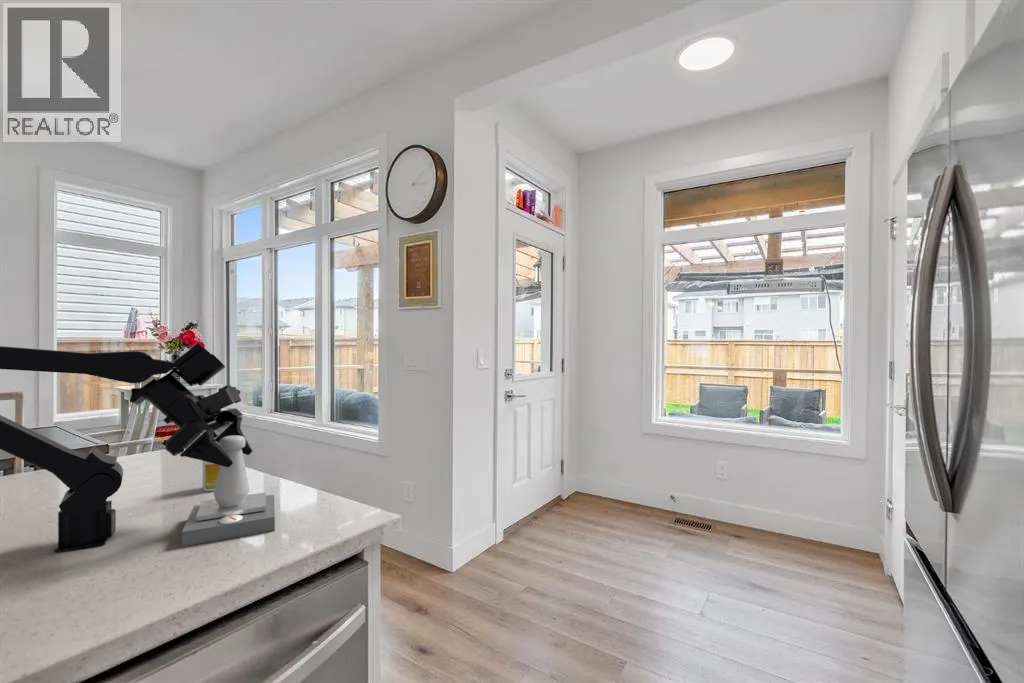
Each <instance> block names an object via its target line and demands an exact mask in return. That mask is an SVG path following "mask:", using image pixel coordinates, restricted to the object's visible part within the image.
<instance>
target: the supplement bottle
mask: <svg viewBox="0 0 1024 683" xmlns="http://www.w3.org/2000/svg"><path fill="white" fill-rule="evenodd" d="M219 469H220V465H217V464H214V463H210V462H206V461H202V490H203V491H205V492H214V490H215V486H216V482H217V477H218V473H219Z"/></svg>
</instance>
